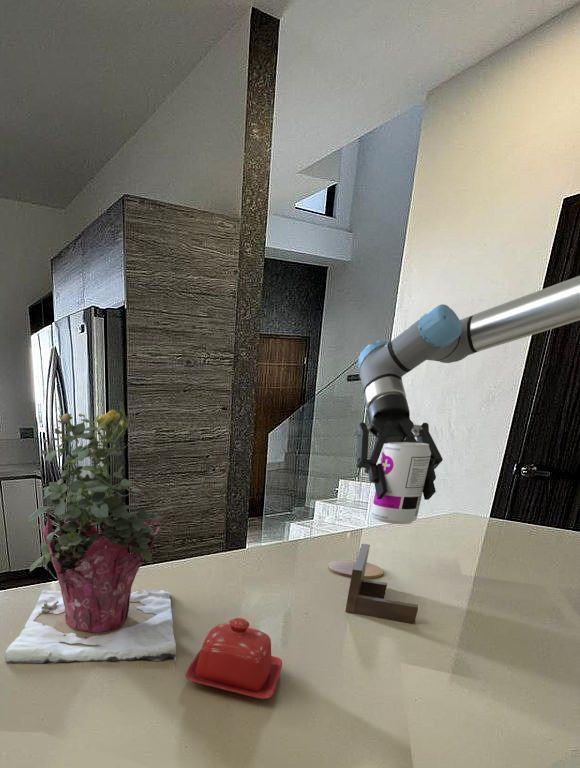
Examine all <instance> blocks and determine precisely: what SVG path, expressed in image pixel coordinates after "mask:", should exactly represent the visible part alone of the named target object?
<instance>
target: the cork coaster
mask: <svg viewBox="0 0 580 768" xmlns="http://www.w3.org/2000/svg"><path fill="white" fill-rule="evenodd" d="M355 561H356V559H355V560H354V559H338V560H333V561H331V562H329V563H328V566H327V569H328V570H329V571H330V572H332V573H334V574H336V575H339V576H342V577H346V578H351V576H352V570H353V567H354V564H355ZM383 574H384V570H383V568H381V567H380V566H378V565H376V564H374V563H370V562H367V564H366V569H365V575H364V579H366V580H372V579H377V578H380V577H381V576H382V577H383Z"/></svg>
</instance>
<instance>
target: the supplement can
mask: <svg viewBox="0 0 580 768" xmlns="http://www.w3.org/2000/svg"><path fill="white" fill-rule="evenodd" d="M430 456H431V451H430V448H429V444H425V443H412V442H390V443H388V444H387V445H386V446H385V447H384V448H383V449H382V451H381V458H380V463H379V464H382V467H383V472H384V477H385V482H386V487H387V492H386V494H385V495H384V496H383V498H382V499H377V495H376V489H375V491H374V497H373V503H372V508H371V513H370V514H371V515H370V516H372V518H373V519H374V521H377V522H380V523H385V524H390V525H391V524H392V525H409V524H413V522H415V521H416V520H418V515H419V510H420V506H421V501H422V498H423V497H422V496H423V488H424V483H425V479H426V474H427V470H428V465H429V460H430Z"/></svg>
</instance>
